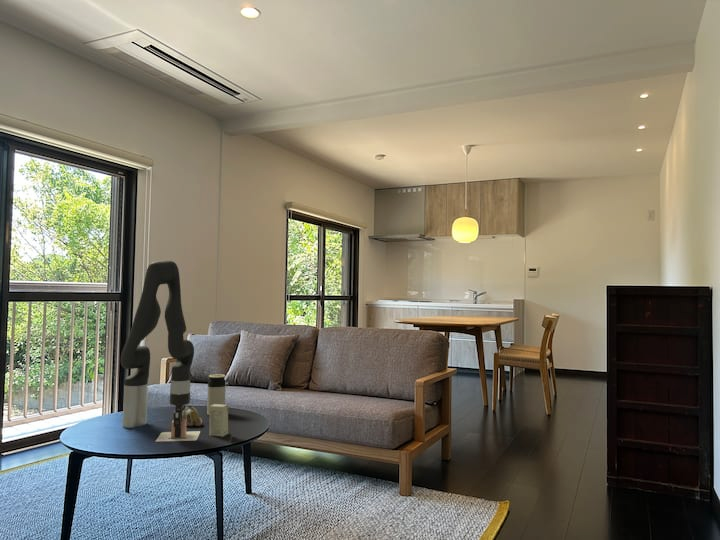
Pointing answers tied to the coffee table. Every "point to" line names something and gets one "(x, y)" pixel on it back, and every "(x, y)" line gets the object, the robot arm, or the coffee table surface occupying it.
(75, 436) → the coffee table surface
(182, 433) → the terracotta block
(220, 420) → the skincare box
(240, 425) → the coffee table surface
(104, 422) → the coffee table surface
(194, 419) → the ceramic sculpture
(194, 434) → the letter mat
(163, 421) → the coffee table surface
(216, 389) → the travel mug
